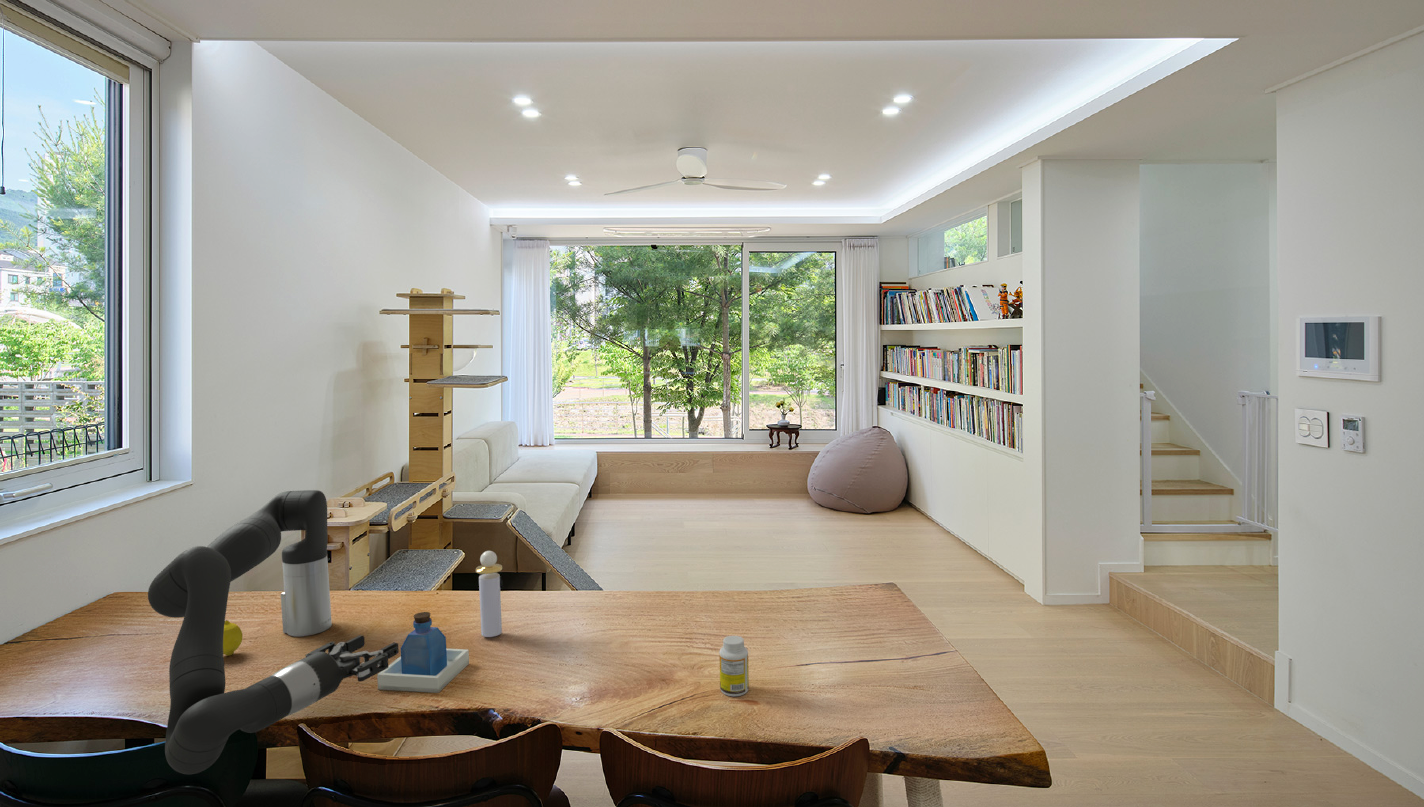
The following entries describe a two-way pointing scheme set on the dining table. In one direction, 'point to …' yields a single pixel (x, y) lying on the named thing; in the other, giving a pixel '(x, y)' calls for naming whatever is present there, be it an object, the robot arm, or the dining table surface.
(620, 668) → the dining table surface
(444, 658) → the perfume bottle
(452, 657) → the dish
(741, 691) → the supplement bottle
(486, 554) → the perfume bottle
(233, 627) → the fruit
